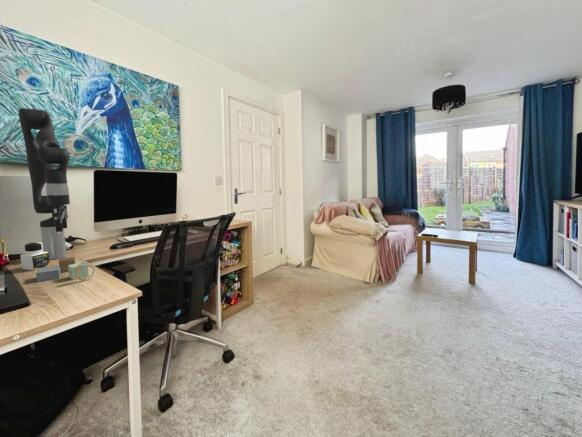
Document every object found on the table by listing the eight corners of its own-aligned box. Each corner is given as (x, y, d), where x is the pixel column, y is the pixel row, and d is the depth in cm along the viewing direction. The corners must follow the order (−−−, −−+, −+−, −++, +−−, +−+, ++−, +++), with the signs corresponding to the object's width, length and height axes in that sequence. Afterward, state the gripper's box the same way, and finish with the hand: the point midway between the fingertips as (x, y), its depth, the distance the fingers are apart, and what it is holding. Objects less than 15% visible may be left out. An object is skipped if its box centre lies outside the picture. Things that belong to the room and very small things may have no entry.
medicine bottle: (33, 270, 124) (30, 245, 123) (21, 269, 126) (18, 244, 124) (50, 266, 131) (47, 241, 130) (38, 265, 133) (35, 241, 131)
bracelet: (75, 283, 110) (73, 264, 109) (74, 281, 112) (72, 262, 111) (96, 279, 114) (94, 261, 113) (94, 277, 117) (93, 259, 116)
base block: (39, 277, 117) (38, 268, 116) (60, 274, 121) (59, 265, 120) (37, 282, 111) (36, 273, 111) (59, 279, 115) (58, 270, 115)
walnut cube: (60, 269, 126) (59, 258, 126) (75, 267, 130) (74, 256, 129) (60, 273, 122) (58, 261, 121) (75, 270, 125) (74, 259, 125)
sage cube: (69, 277, 117) (67, 265, 116) (84, 274, 121) (83, 262, 120) (73, 280, 113) (71, 267, 113) (88, 276, 118) (87, 264, 117)
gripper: (51, 193, 123) (55, 227, 126) (41, 195, 111) (46, 233, 113) (72, 192, 127) (75, 226, 129) (64, 194, 115) (68, 232, 117)
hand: (61, 230), depth 121 cm, fingers open, 8 cm apart
